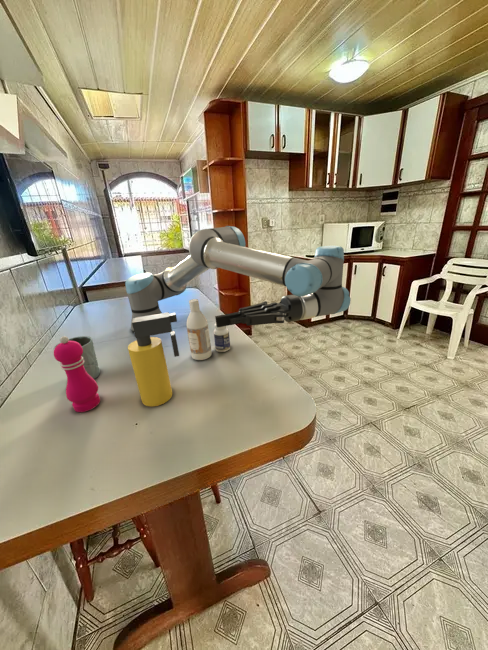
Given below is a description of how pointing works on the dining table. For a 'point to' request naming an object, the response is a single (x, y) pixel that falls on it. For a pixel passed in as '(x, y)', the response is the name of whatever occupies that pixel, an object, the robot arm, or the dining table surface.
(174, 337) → the trigger
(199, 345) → the bath foam
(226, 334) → the pill bottle
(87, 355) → the gray cup
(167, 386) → the spray bottle
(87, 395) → the pepper mill
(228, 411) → the dining table surface
